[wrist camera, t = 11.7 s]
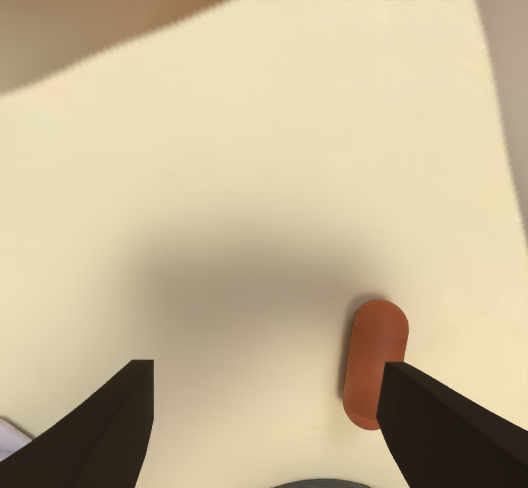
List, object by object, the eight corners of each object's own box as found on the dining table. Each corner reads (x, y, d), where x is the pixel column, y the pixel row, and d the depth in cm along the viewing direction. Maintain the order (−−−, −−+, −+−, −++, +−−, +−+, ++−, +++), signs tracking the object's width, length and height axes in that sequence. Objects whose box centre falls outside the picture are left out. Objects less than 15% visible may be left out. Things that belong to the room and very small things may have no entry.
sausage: (369, 402, 22) (401, 436, 20) (330, 410, 21) (358, 447, 19) (387, 290, 21) (425, 310, 18) (346, 293, 20) (379, 315, 17)
